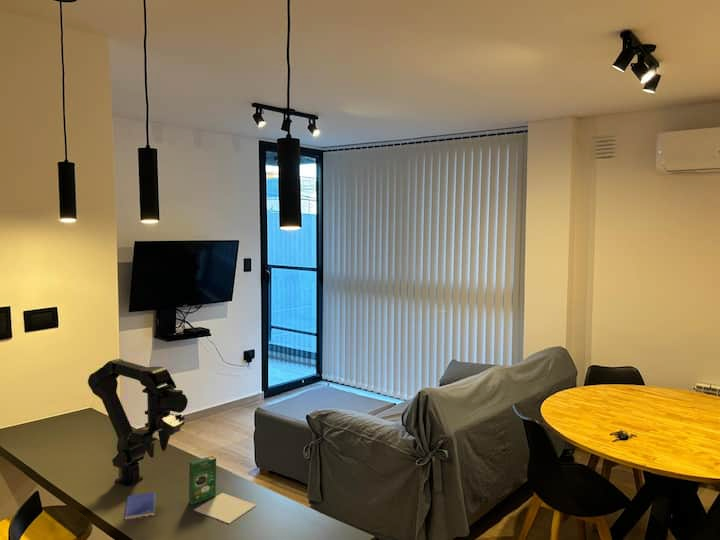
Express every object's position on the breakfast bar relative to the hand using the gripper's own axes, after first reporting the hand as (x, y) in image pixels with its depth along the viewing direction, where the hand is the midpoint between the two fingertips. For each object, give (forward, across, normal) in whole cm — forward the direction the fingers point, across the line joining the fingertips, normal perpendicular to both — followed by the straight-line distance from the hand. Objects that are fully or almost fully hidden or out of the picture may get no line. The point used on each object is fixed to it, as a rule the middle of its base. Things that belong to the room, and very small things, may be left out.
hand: (157, 453), depth 178 cm
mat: (+12, -1, -27) cm, 29 cm away
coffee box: (+12, +1, -17) cm, 21 cm away
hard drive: (+13, -10, -3) cm, 17 cm away
